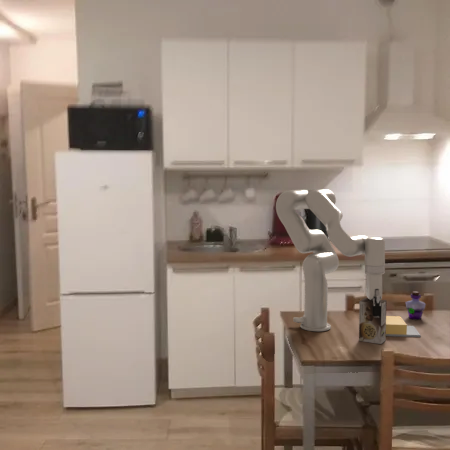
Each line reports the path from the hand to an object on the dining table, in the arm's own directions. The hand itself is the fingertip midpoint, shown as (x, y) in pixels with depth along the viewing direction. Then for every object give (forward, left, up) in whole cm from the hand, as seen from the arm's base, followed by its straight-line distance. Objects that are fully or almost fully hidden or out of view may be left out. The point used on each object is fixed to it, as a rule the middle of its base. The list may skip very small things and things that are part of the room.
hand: (374, 313), depth 237 cm
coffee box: (-1, 0, -11) cm, 11 cm away
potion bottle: (+23, +35, -11) cm, 44 cm away
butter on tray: (+8, +13, -11) cm, 19 cm away
